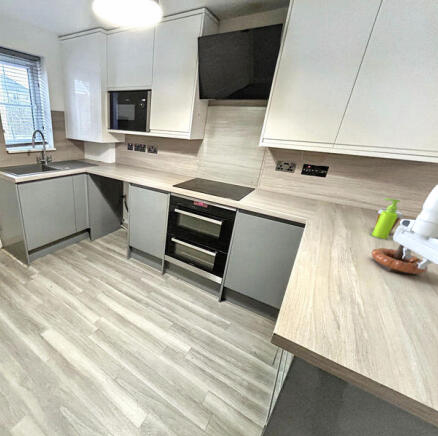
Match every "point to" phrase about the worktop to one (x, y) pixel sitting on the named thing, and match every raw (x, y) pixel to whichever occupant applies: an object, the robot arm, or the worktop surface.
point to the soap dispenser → (386, 220)
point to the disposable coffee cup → (395, 220)
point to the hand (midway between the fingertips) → (412, 263)
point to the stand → (397, 256)
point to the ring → (397, 261)
